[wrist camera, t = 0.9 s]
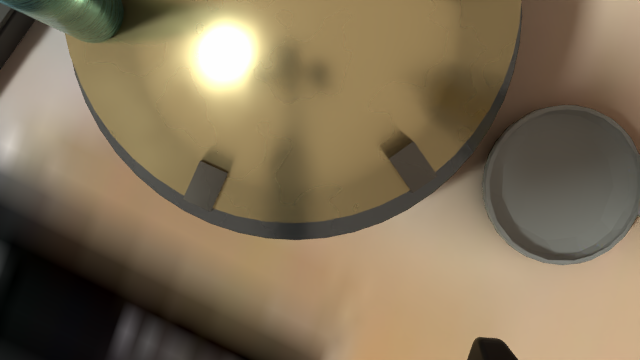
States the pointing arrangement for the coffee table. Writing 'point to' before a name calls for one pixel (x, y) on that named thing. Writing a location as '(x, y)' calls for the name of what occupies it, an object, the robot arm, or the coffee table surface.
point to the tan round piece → (288, 93)
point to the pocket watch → (563, 184)
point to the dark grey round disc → (320, 227)
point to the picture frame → (11, 30)
